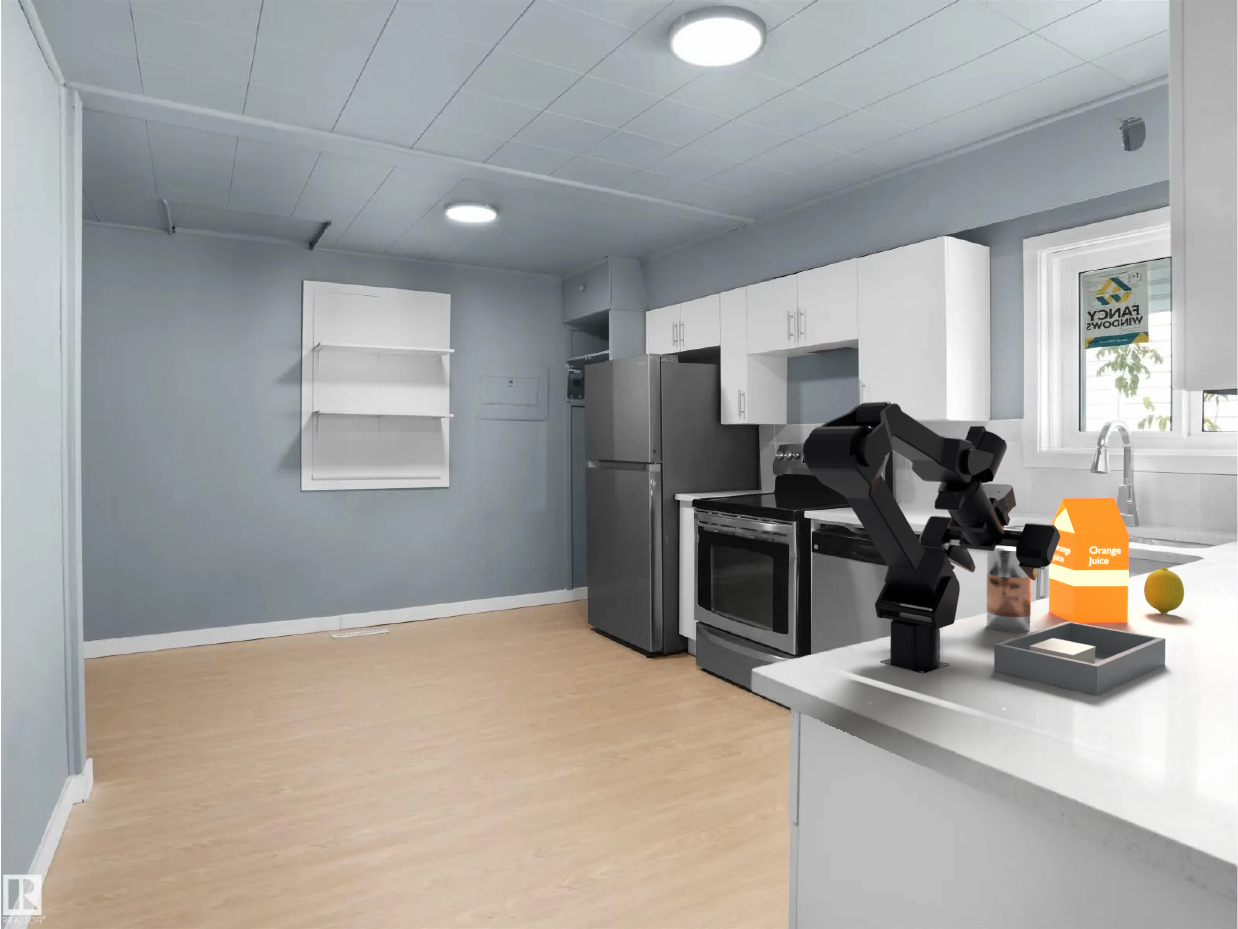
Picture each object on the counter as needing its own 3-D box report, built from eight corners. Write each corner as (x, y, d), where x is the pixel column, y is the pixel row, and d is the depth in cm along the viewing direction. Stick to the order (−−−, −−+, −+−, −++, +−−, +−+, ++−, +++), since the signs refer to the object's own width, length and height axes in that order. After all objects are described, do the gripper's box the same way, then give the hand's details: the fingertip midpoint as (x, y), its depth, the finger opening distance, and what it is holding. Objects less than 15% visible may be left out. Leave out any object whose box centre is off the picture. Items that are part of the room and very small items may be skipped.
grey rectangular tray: (1096, 701, 88) (1097, 666, 88) (994, 675, 98) (994, 644, 97) (1165, 669, 100) (1165, 638, 99) (1067, 648, 109) (1067, 621, 109)
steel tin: (1017, 639, 115) (1018, 552, 114) (978, 631, 120) (979, 548, 119) (1037, 632, 118) (1038, 549, 118) (998, 625, 123) (999, 544, 123)
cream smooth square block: (1072, 684, 92) (1073, 655, 92) (1029, 674, 96) (1029, 645, 96) (1095, 675, 95) (1095, 646, 95) (1052, 665, 99) (1052, 638, 99)
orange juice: (1128, 622, 124) (1130, 499, 124) (1073, 622, 125) (1075, 500, 124) (1099, 611, 132) (1100, 496, 132) (1047, 611, 132) (1049, 496, 132)
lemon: (1190, 618, 126) (1191, 570, 126) (1153, 617, 128) (1153, 570, 127) (1173, 611, 132) (1174, 565, 132) (1137, 610, 133) (1138, 564, 133)
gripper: (1055, 467, 106) (1084, 539, 114) (928, 465, 121) (961, 528, 128) (1031, 529, 102) (1063, 599, 109) (901, 518, 116) (937, 581, 123)
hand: (1003, 573), depth 118 cm, fingers open, 9 cm apart
